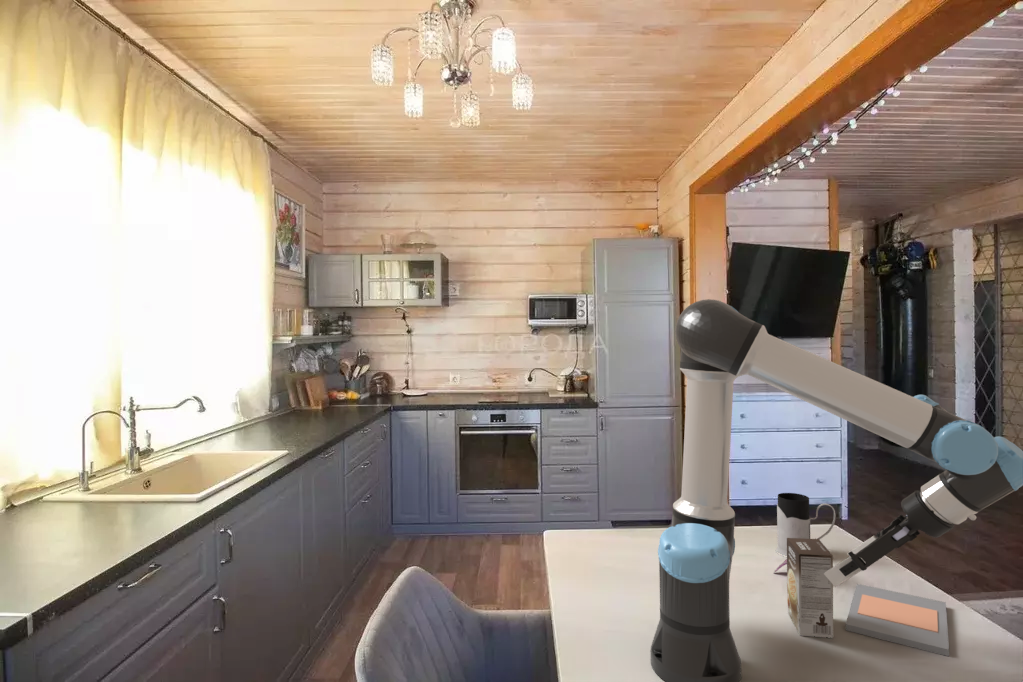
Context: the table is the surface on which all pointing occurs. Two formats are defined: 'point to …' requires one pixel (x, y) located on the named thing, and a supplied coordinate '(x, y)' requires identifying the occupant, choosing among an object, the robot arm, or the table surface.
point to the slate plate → (899, 618)
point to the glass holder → (794, 519)
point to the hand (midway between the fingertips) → (841, 569)
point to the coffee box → (809, 587)
